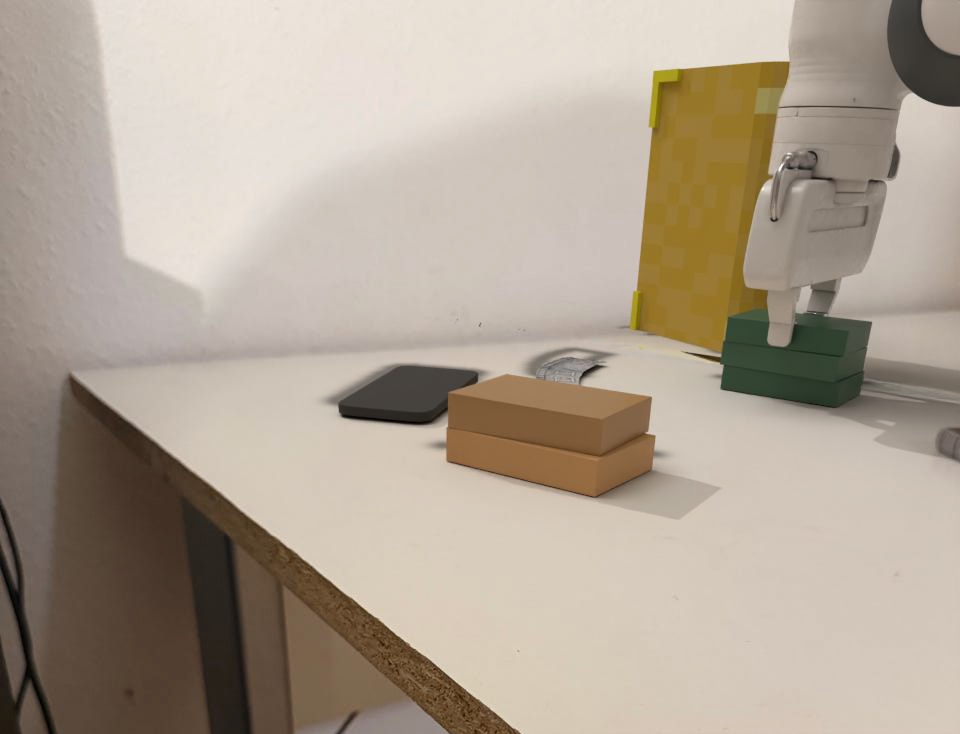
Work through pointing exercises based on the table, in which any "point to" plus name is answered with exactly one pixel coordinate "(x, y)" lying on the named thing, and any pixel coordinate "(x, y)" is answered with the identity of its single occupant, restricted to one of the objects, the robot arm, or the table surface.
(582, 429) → the tan stack
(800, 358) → the green stack
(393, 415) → the phone
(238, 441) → the table surface
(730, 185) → the book
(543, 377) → the coin fragment
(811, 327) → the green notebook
